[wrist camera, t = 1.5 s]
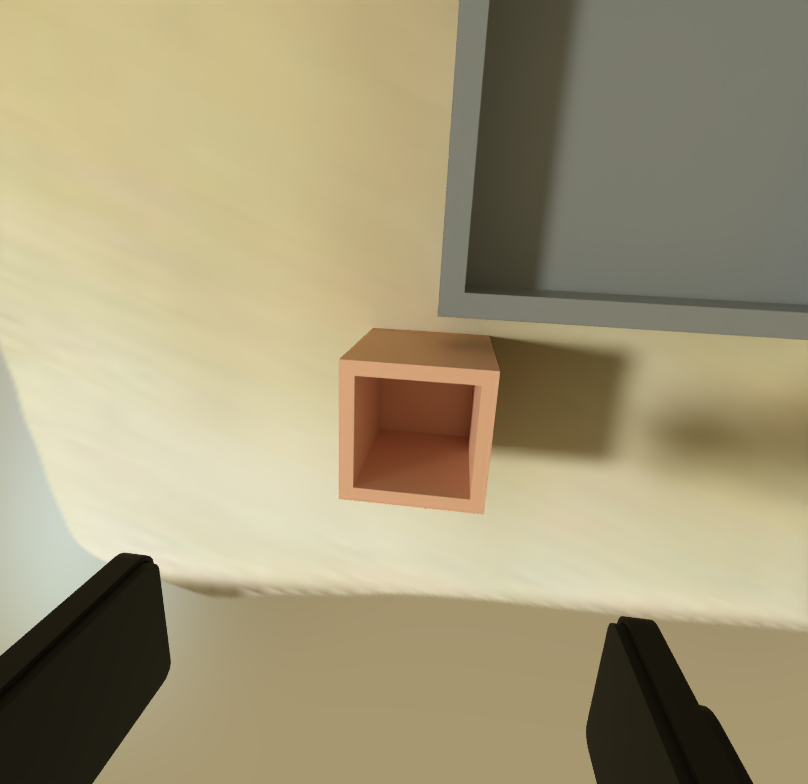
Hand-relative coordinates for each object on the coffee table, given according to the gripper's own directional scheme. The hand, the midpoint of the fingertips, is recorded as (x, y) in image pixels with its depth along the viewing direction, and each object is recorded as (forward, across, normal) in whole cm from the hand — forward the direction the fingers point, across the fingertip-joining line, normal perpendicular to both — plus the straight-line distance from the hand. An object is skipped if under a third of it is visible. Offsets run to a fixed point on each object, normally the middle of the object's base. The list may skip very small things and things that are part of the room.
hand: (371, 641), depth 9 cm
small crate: (+16, 0, -1) cm, 16 cm away
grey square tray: (+16, -9, -14) cm, 23 cm away
